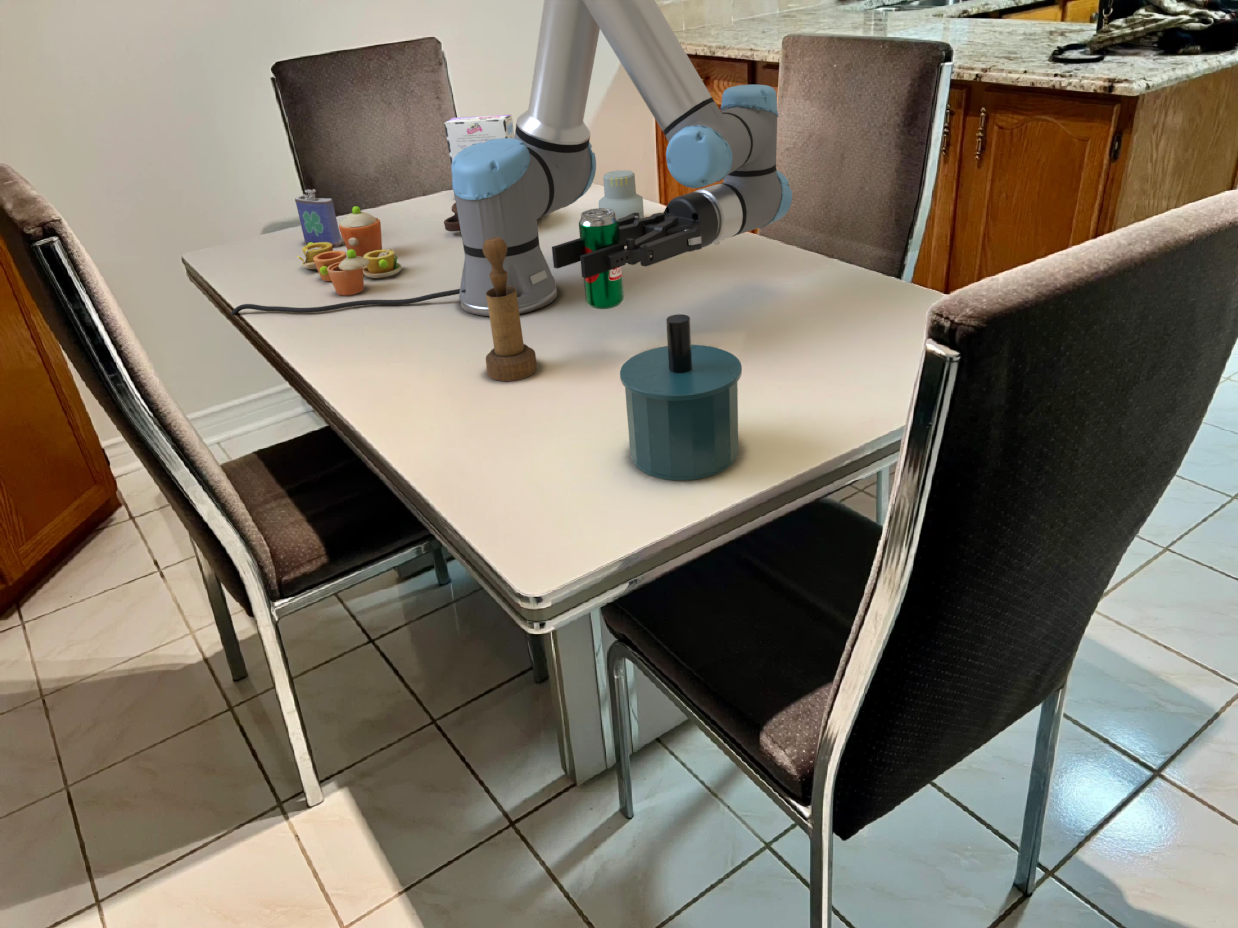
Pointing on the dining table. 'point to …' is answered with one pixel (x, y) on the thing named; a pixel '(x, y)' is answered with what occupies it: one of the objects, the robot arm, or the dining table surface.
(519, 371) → the mortar and pestle
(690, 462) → the pot
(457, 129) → the candy box
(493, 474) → the dining table surface
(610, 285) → the soda can
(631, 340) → the dining table surface
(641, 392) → the pot lid
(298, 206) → the flask
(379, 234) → the toy tea set
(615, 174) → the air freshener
